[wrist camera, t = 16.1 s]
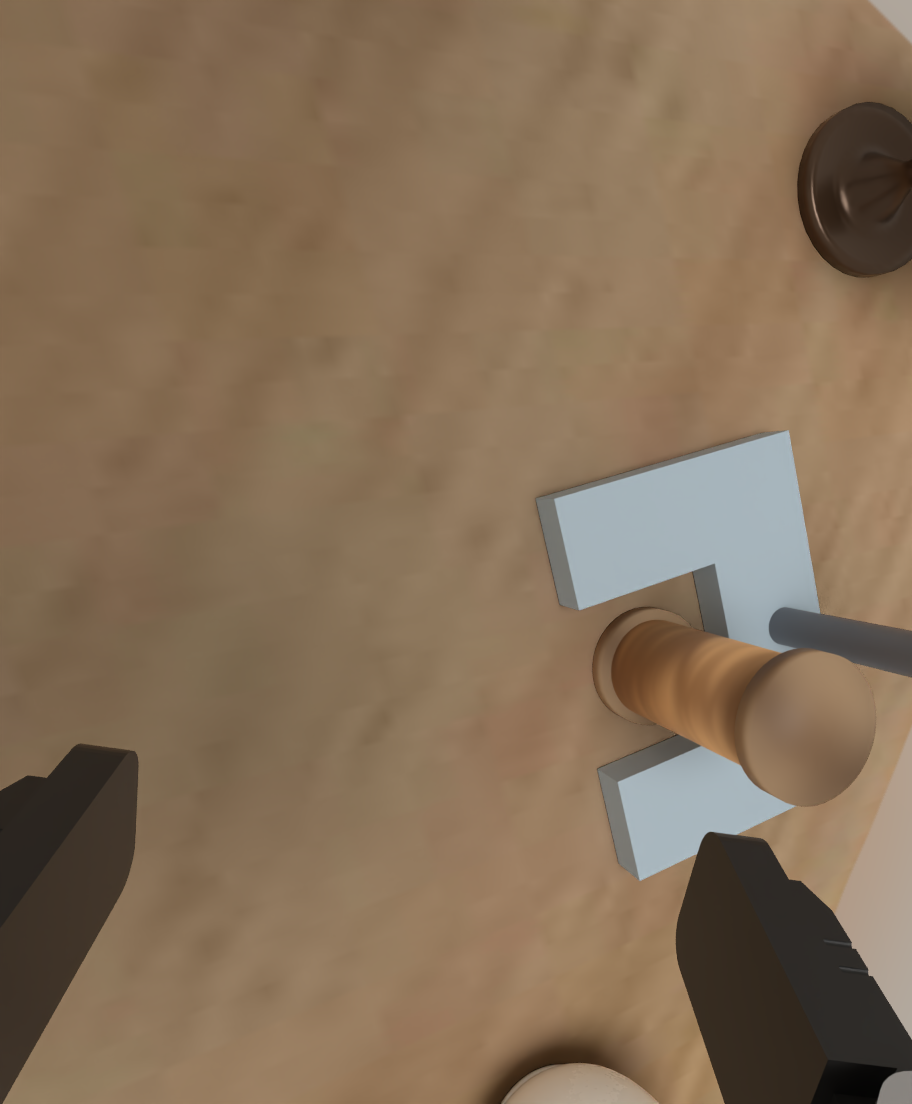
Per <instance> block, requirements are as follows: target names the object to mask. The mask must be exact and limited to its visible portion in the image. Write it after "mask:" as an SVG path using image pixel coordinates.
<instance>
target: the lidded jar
mask: <svg viewBox="0 0 912 1104" xmlns="http://www.w3.org/2000/svg"><path fill="white" fill-rule="evenodd" d="M501 1104H660V1103H659V1102H658V1101H656V1100H655V1099H654V1098H653V1097H652V1096H651V1095H650V1094H649V1093H648V1092H647V1091H645V1090H644V1089H643V1088H642V1087H641V1086H639V1085H638V1084H636V1083H635V1082H634V1081H632V1080H631V1079H629V1078H627V1077H626V1076H624V1075H622V1074H620V1073H618V1072H616V1071H614V1070H611V1069H609V1068H606V1067H603V1066H600V1065H594V1064H586V1063H570V1064H563V1065H561V1064H558V1065H549V1066H545V1067H542V1068H539V1069H537V1070H535V1071H533V1072H531V1073H529V1074H528V1075H526V1076H525V1077H523V1078H522V1079H521V1080H520V1081H518V1082H517V1083H516V1084H515V1085H514V1086H513V1087H512V1088H511V1090H510V1091H509V1092H508V1093H507V1095H506V1096H505V1098H504V1099H503V1101H502V1102H501Z"/></svg>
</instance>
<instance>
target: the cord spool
mask: <svg viewBox="0 0 912 1104" xmlns="http://www.w3.org/2000/svg"><path fill="white" fill-rule="evenodd" d="M593 680H594V684H595V688H596V690H597V693H598V695H599V697H600V699H601V700H602V701H603V703H604V704H605V705H606V706H607V707H608V708H609V709H610V710H611V711H612V712H614V713H615V714H617V715H619V716H621V717H623V718H625V719H627V720H629V721H630V722H633V723H636V724H641V725H654V724H658V725H660V726H662V727H664V728H666V729H668V730H670V731H672V732H674V733H676V734H678V735H680V736H682V737H684V738H687V739H689V740H691V741H693V742H695V743H697V744H699V745H701V746H703V747H705V748H707V749H709V750H711V751H713V752H715V753H717V754H719V755H721V756H723V757H725V758H727V759H729V760H731V761H733V762H735V763H737V764H739V765H741V767H742V769H743V771H744V772H745V774H746V775H747V777H748V778H749V779H750V780H751V781H752V783H753V784H754V785H756V786H757V787H758V788H759V789H761V790H763V791H764V792H766V793H768V794H770V795H772V796H774V797H776V798H778V799H780V800H782V801H783V802H785V803H788V804H791V805H794V806H801V807H809V806H815V805H819V804H822V803H825V802H827V801H829V800H831V799H833V798H835V797H836V796H838V795H839V794H841V793H842V792H843V791H844V790H845V789H847V788H848V787H849V786H850V785H851V783H852V782H853V781H854V780H855V779H856V777H857V776H858V775H859V773H860V772H861V770H862V768H863V767H864V765H865V763H866V761H867V759H868V757H869V754H870V751H871V748H872V745H873V741H874V737H875V730H876V706H875V700H874V696H873V693H872V690H871V687H870V685H869V683H868V681H867V679H866V677H865V676H864V674H863V673H862V672H861V671H860V669H859V668H858V667H857V666H856V665H854V664H853V663H852V662H851V661H849V660H848V659H846V658H844V657H841V656H839V655H835V654H831V653H827V652H824V651H820V650H816V649H812V648H797V649H792V650H788V651H786V652H783V653H780V652H776V651H773V650H769V649H766V648H762V647H759V646H755V645H751V644H748V643H744V642H741V641H737V640H733V639H730V638H726V637H723V636H719V635H716V634H712V633H708V632H705V631H701V630H698V629H694V628H692V627H691V625H690V624H689V623H688V622H687V621H686V620H684V619H683V618H682V617H680V616H679V615H677V614H675V613H672V612H669V611H665V610H661V609H657V608H653V607H640V608H636V609H632V610H630V611H627V612H625V613H624V614H622V615H620V616H619V617H617V618H616V619H615V620H614V621H613V622H612V623H611V624H610V625H609V626H608V627H607V628H606V630H605V631H604V633H603V634H602V636H601V638H600V640H599V642H598V644H597V647H596V649H595V653H594V658H593Z"/></svg>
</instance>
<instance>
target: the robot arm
mask: <svg viewBox="0 0 912 1104" xmlns="http://www.w3.org/2000/svg"><path fill="white" fill-rule="evenodd" d="M137 787H138V757H137V754H136V752H135V751H130V750H123V749H115V748H108V747H101V746H93V745H86V744H77V745H76V746H74V747H73V748H72V749H71V751H70V752H69V753H68V754H67V755H66V756H65V758H64V759H63V760H62V761H61V762H60V763H59V765H58V766H57V767H56V768H55V769H54V770H53V772H52V773H51V774H50V775H49V776H48V777H47V778H43V777H36V776H26V777H24V778H22V779H21V780H19V781H17V782H15V783H14V784H12V785H10V786H8V787H6V788H5V789H3V790H1V791H0V1104H2V1103H3V1101H4V1100H5V1098H6V1096H7V1094H8V1093H9V1091H10V1089H11V1087H12V1085H13V1084H14V1082H15V1080H16V1078H17V1077H18V1075H19V1073H20V1071H21V1070H22V1068H23V1066H24V1064H25V1062H26V1061H27V1059H28V1057H29V1055H30V1054H31V1052H32V1050H33V1048H34V1047H35V1045H36V1043H37V1041H38V1040H39V1038H40V1036H41V1034H42V1032H43V1031H44V1029H45V1027H46V1025H47V1024H48V1022H49V1020H50V1018H51V1017H52V1015H53V1013H54V1011H55V1009H56V1008H57V1006H58V1004H59V1002H60V1001H61V999H62V997H63V995H64V994H65V992H66V990H67V988H68V986H69V985H70V983H71V981H72V979H73V978H74V976H75V974H76V972H77V971H78V969H79V967H80V965H81V964H82V962H83V960H84V958H85V956H86V955H87V953H88V951H89V949H90V948H91V946H92V944H93V942H94V941H95V939H96V937H97V935H98V933H99V932H100V930H101V928H102V926H103V925H104V923H105V921H106V919H107V918H108V916H109V914H110V912H111V910H112V909H113V907H114V905H115V903H116V902H117V900H118V898H119V896H120V894H121V892H122V890H123V888H124V886H125V883H126V881H127V878H128V875H129V872H130V868H131V864H132V860H133V855H134V848H135V833H136V810H137ZM851 943H852V942H851V941H850V939H849V937H848V936H847V934H846V933H845V931H844V929H843V928H842V926H841V925H840V923H839V921H838V920H837V918H836V916H835V915H834V913H833V911H832V910H831V909H830V908H829V907H828V906H827V905H825V904H824V903H823V902H822V901H821V900H820V899H819V898H818V897H817V896H816V895H815V894H814V893H813V892H812V891H810V890H809V889H808V888H807V887H806V886H805V885H804V884H803V883H802V882H801V881H795V880H789V879H788V877H787V876H786V874H785V872H784V870H783V869H782V867H781V865H780V864H779V862H778V860H777V858H776V857H775V855H774V853H773V851H772V850H771V848H770V846H769V845H768V843H767V842H766V841H765V840H763V839H761V838H754V837H747V836H739V835H732V834H725V833H717V832H708V833H707V834H706V835H705V836H704V837H703V839H702V841H701V844H700V847H699V850H698V853H697V857H696V860H695V863H694V867H693V870H692V873H691V877H690V880H689V883H688V887H687V890H686V893H685V897H684V900H683V904H682V907H681V910H680V914H679V917H678V922H677V929H676V953H677V960H678V965H679V968H680V971H681V974H682V977H683V980H684V983H685V986H686V989H687V992H688V995H689V998H690V1001H691V1004H692V1007H693V1010H694V1013H695V1016H696V1019H697V1022H698V1025H699V1028H700V1031H701V1034H702V1037H703V1040H704V1043H705V1046H706V1049H707V1052H708V1055H709V1058H710V1061H711V1064H712V1067H713V1070H714V1073H715V1076H716V1079H717V1082H718V1085H719V1088H720V1091H721V1094H722V1097H723V1100H724V1103H725V1104H912V1040H911V1038H910V1036H909V1035H908V1033H907V1031H906V1030H905V1028H904V1026H903V1025H902V1023H901V1022H900V1020H899V1019H898V1017H897V1015H896V1013H895V1012H894V1010H893V1009H892V1007H891V1005H890V1004H889V1002H888V1001H887V999H886V997H885V996H884V994H883V992H882V991H881V989H880V988H879V986H878V984H877V983H876V981H875V980H874V978H873V977H872V976H869V975H868V968H867V967H866V965H865V963H864V962H863V960H862V958H861V957H860V955H859V954H858V952H857V951H856V949H852V946H851Z"/></svg>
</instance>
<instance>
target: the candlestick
mask: <svg viewBox="0 0 912 1104" xmlns="http://www.w3.org/2000/svg"><path fill="white" fill-rule="evenodd" d="M798 201H799V207H800V213H801V217H802V220H803V223H804V226H805V229H806V232H807V234H808V236H809V238H810V240H811V241H812V243H813V245H814V247H815V248H816V249H817V251H818V252H819V253H820V255H821V256H822V257H823V258H824V259H825V260H826V261H827V262H828V263H829V264H831V265H832V266H833V267H834V268H836V269H838V270H839V271H841V272H843V273H845V274H848V275H852V276H855V277H873V276H877V275H881V274H884V273H887V272H891V271H894V270H896V269H898V268H900V267H902V266H903V265H905V264H906V263H907V262H909V261H910V260H911V259H912V124H911V123H910V122H909V121H908V120H907V119H906V118H905V117H904V116H903V115H902V114H900V113H899V112H897V111H896V110H895V109H893V108H891V107H888V106H886V105H883V104H880V103H872V102H865V103H858V104H854V105H852V106H850V107H848V108H845V109H843V110H842V111H840V112H838V113H836V114H835V115H833V116H831V117H830V118H828V119H827V120H826V121H825V122H823V123H822V124H821V125H820V126H819V127H818V129H817V130H816V131H815V132H814V134H813V135H812V136H811V138H810V140H809V142H808V144H807V146H806V148H805V150H804V153H803V156H802V160H801V163H800V168H799V175H798Z"/></svg>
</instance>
